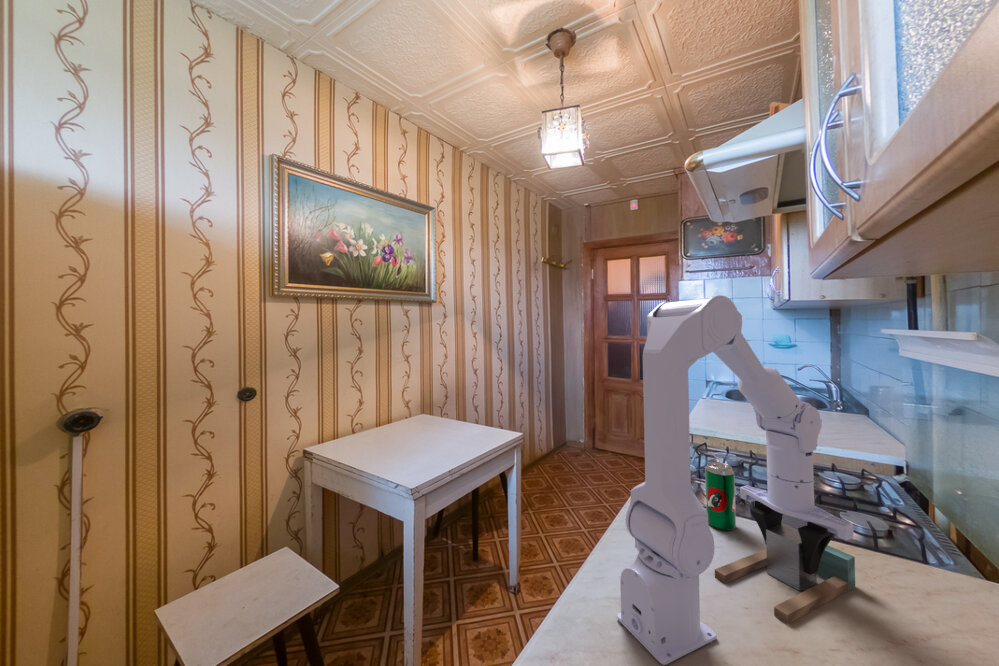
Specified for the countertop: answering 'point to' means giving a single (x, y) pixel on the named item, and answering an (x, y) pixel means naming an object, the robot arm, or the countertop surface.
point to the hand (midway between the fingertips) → (791, 562)
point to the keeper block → (787, 557)
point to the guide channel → (838, 581)
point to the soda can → (720, 496)
